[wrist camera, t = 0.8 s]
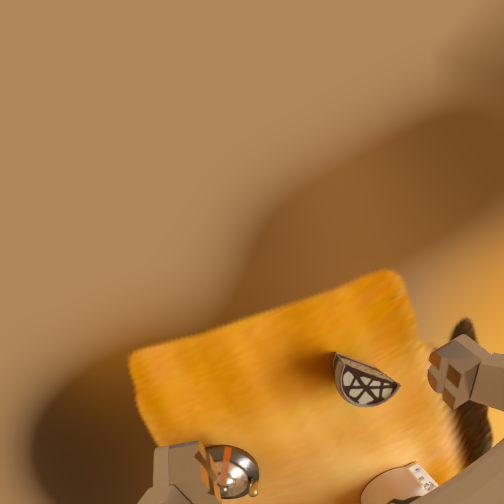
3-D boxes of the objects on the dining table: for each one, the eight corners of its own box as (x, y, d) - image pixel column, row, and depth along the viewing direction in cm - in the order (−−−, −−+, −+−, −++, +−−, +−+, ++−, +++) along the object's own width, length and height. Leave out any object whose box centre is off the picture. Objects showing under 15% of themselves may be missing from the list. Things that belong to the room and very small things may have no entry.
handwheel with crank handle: (272, 467, 54) (274, 488, 47) (231, 502, 53) (229, 523, 46) (217, 433, 55) (212, 452, 47) (178, 471, 54) (170, 490, 47)
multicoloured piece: (244, 495, 51) (243, 515, 45) (198, 488, 52) (193, 507, 45) (254, 446, 52) (254, 465, 45) (203, 439, 52) (198, 456, 46)
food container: (313, 378, 55) (324, 398, 45) (328, 348, 55) (342, 363, 45) (367, 397, 55) (385, 417, 45) (382, 369, 55) (403, 386, 45)
